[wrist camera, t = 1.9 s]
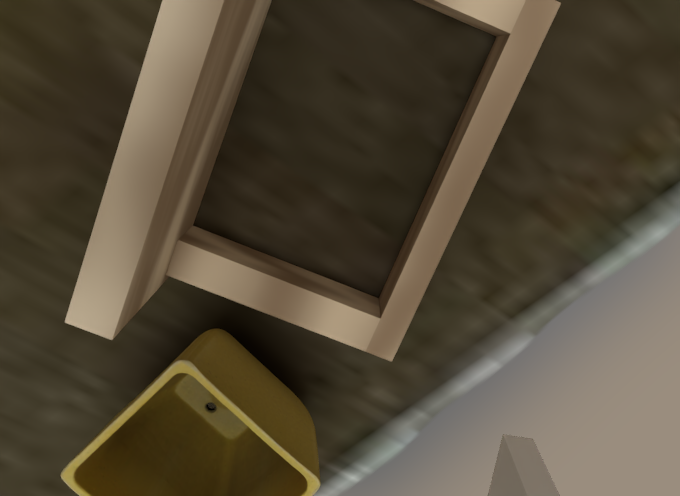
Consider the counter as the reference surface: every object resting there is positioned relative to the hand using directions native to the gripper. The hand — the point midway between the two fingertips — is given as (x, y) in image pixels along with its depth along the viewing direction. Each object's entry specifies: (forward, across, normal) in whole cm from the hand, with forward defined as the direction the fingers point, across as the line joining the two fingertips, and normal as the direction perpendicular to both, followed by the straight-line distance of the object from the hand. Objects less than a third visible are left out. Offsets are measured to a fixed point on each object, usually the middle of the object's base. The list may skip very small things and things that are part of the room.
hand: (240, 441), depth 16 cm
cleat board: (+19, +1, +6) cm, 20 cm away
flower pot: (+20, -3, -9) cm, 22 cm away
